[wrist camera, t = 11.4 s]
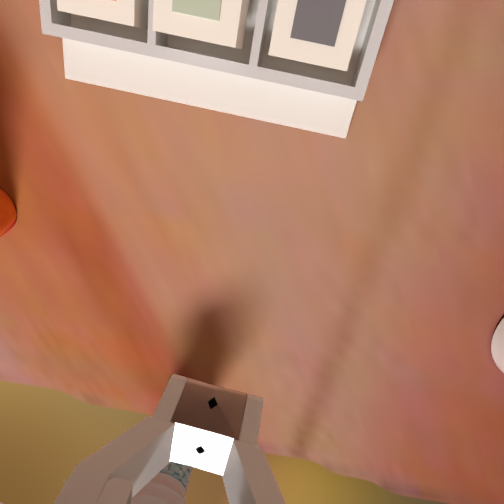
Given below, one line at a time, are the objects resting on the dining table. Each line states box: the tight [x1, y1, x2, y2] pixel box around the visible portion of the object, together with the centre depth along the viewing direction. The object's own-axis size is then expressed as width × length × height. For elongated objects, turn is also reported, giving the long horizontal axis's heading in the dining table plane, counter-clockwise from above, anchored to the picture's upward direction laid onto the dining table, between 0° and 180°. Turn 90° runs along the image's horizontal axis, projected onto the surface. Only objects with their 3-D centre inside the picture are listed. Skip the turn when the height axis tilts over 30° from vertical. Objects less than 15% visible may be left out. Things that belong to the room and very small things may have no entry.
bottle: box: [131, 461, 193, 504], centre depth 40 cm, size 7×7×20 cm
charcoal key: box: [268, 0, 367, 71], centre depth 24 cm, size 6×6×3 cm
